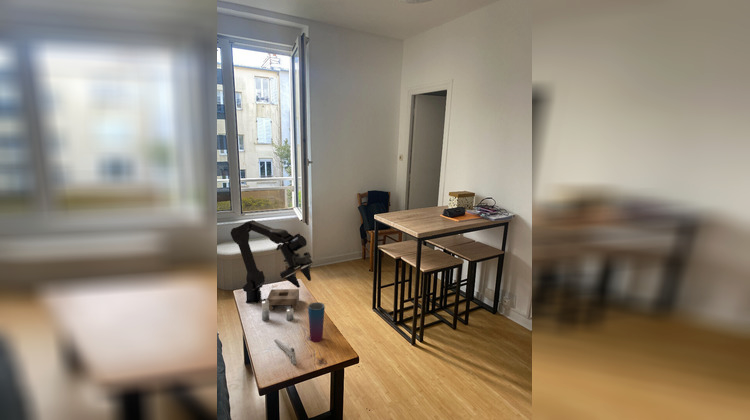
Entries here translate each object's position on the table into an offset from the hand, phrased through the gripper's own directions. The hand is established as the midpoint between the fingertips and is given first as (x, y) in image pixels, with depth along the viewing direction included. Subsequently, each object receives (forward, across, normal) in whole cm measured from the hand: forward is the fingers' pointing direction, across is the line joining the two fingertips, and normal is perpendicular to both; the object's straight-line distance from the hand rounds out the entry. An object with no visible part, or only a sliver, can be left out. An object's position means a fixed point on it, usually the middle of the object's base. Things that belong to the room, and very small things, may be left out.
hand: (304, 284), depth 176 cm
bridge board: (+5, +2, +20) cm, 21 cm away
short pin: (+11, -8, +10) cm, 17 cm away
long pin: (+6, -14, +18) cm, 24 cm away
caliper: (+19, -31, -2) cm, 37 cm away
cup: (+22, -18, -7) cm, 29 cm away
